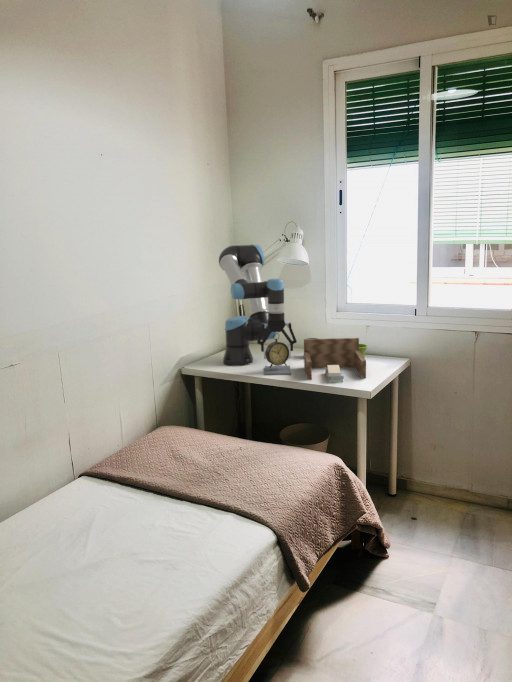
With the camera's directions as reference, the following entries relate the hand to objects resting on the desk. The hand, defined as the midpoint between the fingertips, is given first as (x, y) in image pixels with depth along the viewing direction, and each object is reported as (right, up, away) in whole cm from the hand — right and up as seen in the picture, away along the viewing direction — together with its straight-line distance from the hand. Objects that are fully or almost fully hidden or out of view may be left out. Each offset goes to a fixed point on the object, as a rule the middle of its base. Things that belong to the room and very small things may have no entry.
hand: (277, 358), depth 251 cm
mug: (+21, -1, +25) cm, 33 cm away
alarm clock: (0, -4, +1) cm, 4 cm away
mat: (0, -6, +1) cm, 6 cm away
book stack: (+25, -9, -13) cm, 29 cm away
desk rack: (+26, -7, -5) cm, 27 cm away
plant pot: (+41, -3, +13) cm, 43 cm away
